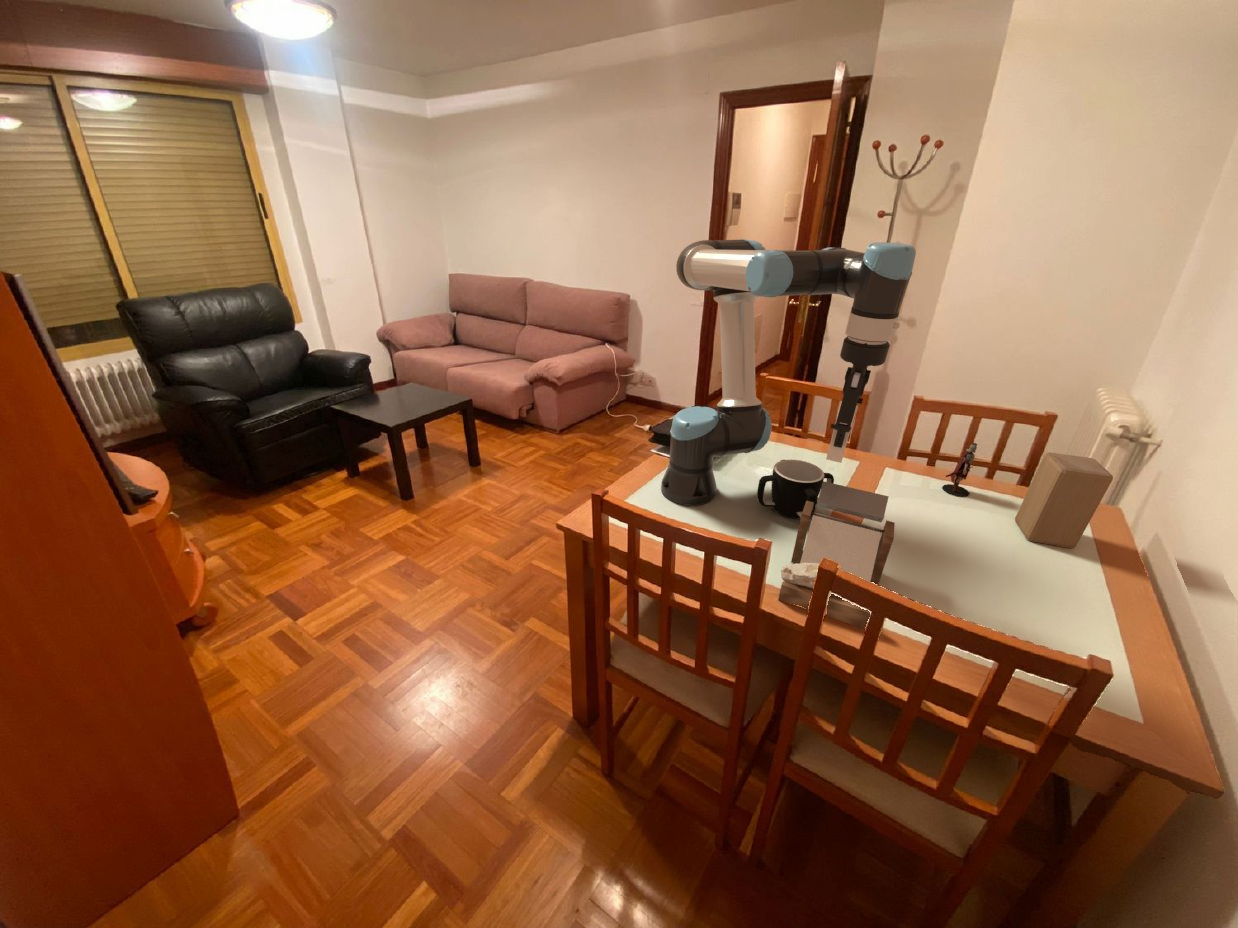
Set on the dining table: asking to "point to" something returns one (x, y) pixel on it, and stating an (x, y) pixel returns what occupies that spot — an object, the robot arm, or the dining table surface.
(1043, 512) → the wooden block
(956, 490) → the figurine
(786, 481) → the mug
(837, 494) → the trapdoor
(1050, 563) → the dining table surface
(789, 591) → the frame
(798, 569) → the stone
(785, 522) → the dining table surface
